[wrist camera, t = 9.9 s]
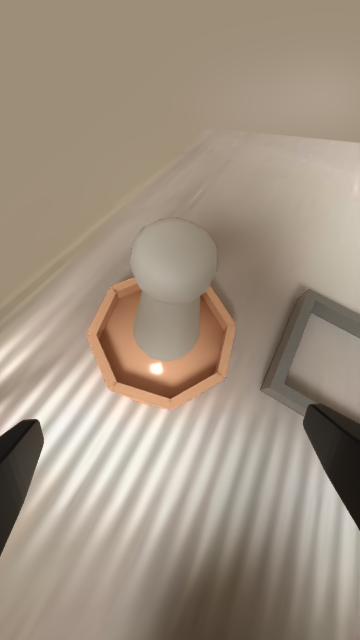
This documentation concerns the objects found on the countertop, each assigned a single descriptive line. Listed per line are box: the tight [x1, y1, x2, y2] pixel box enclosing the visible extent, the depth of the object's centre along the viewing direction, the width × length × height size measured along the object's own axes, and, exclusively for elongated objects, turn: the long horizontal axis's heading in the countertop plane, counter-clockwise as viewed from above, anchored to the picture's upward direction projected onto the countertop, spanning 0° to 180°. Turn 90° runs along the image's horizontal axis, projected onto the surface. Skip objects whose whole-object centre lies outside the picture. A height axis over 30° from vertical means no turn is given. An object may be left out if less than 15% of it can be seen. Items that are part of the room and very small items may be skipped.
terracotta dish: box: [87, 277, 236, 410], centre depth 22 cm, size 13×13×2 cm
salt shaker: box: [130, 218, 218, 362], centre depth 16 cm, size 6×6×13 cm
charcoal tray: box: [260, 289, 360, 416], centre depth 22 cm, size 12×12×2 cm
